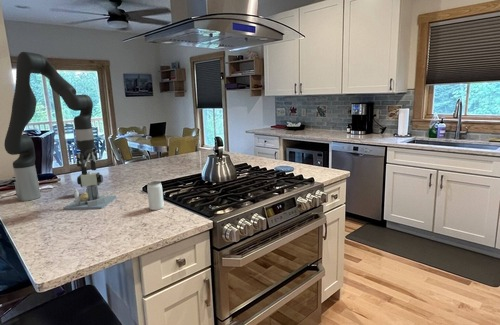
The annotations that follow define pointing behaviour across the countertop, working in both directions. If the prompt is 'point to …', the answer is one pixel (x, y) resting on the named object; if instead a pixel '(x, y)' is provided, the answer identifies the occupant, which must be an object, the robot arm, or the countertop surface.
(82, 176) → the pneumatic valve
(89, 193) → the planet gear
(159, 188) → the can
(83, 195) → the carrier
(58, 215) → the countertop surface
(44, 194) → the countertop surface
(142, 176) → the countertop surface
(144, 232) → the countertop surface
